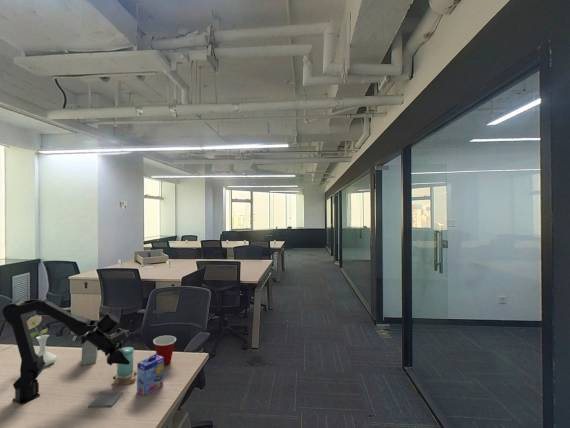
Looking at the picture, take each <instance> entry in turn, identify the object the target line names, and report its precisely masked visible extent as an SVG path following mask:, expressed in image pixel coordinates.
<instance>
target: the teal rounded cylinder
mask: <svg viewBox="0 0 570 428" xmlns="http://www.w3.org/2000/svg"><path fill="white" fill-rule="evenodd" d="M122 349H123V355H124V356H125V357H126V358H127V359H128V361H129V362H130V363H129V364H128V365H126V364H116V374H117V375H118V376H127V375H129V374H131V373H132V372H133V371H134V352H135V349H134V347H132V346H126V347H122V348H121V350H122Z"/></svg>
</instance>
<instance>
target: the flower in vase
mask: <svg viewBox="0 0 570 428" xmlns="http://www.w3.org/2000/svg"><path fill="white" fill-rule="evenodd" d="M42 319H43V318H42V315H38V314H36V315H34V316H31V317H30V318H28V319H27V325H28V328H29V330H31V329H32V330H33V328H35V331H34V332H30V335H31V338H33V337H35V336H36V335H37V334H38V336H37V337H35V339H36V340H37V341H38V343H39V351H38V353H36V354H37V355H38V356H42V355H43V359H44V362H45V363H46V364H45V365H44V367H46V366H48V365H51V364H53V363H54V362H56V360H57V359H58V358H57V356H56V355H55V354H54V353H51V352H49V351H47V348H46V344H47V339H48V338H49V337H50V335H49V334H46V333H48V330H49V327H46V328H44V329H42V330H41V331H40V333H39V331H38V328H37V326H39V325H40V323H41V322H42Z"/></svg>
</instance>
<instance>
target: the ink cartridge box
mask: <svg viewBox="0 0 570 428" xmlns="http://www.w3.org/2000/svg"><path fill="white" fill-rule="evenodd" d="M164 369H165V366H164V357H162V356H159V355H157V354H156V353H155V354H153V355H151V356H149V357H148V358H145V359H144V360H141V361H139V362H137V370H136V372H137V375H136V376H137V377H136V379H137V380H136V381H137V382H136V392H137V393H139V394H140V395H143V396H146V395H148V394H150V393H151V392H154V391H155V390H157V389H158V388H160V387H162V386H164V376H165V374H164V373H165V372H164V371H165V370H164Z"/></svg>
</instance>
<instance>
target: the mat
mask: <svg viewBox="0 0 570 428" xmlns="http://www.w3.org/2000/svg"><path fill="white" fill-rule="evenodd" d="M123 394H124V392H123V391H109V392H106V391H105V392H100V393H99V394H98V395H97V396H96V397H95V398H94V399H93V400H92V401H91V402H90V403H89V404H88V405H87V407H88V408H107V407H108V408H109V407H113V406H114V405H115V404H116V403H117V402H118V400H119V399H120V398H121V396H122V395H123Z"/></svg>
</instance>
